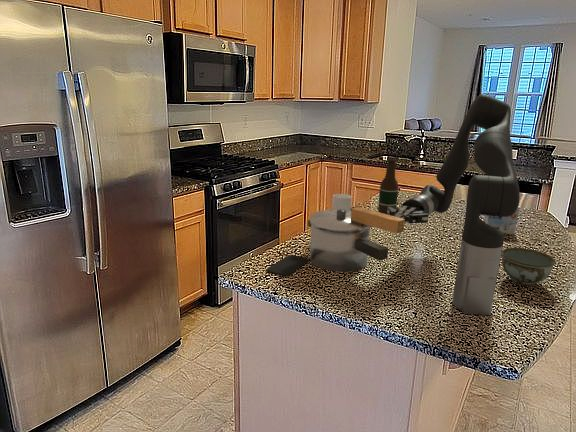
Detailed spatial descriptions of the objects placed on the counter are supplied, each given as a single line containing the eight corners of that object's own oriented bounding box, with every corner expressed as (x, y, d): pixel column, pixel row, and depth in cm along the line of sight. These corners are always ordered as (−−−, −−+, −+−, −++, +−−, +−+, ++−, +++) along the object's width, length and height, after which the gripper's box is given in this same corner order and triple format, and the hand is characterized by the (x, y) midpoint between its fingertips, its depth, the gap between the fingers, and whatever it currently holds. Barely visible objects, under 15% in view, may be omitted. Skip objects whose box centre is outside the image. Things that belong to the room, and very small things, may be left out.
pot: (292, 251, 141) (293, 216, 138) (335, 242, 150) (337, 209, 147) (356, 289, 115) (360, 248, 112) (403, 276, 125) (408, 237, 121)
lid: (297, 221, 132) (298, 202, 130) (337, 211, 145) (338, 193, 143) (378, 249, 111) (380, 227, 109) (417, 234, 123) (420, 214, 122)
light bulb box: (485, 231, 167) (490, 205, 164) (482, 226, 173) (486, 200, 170) (515, 234, 165) (520, 207, 161) (511, 229, 171) (515, 203, 168)
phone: (310, 259, 134) (287, 275, 122) (310, 261, 135) (286, 278, 122) (289, 254, 138) (264, 269, 125) (289, 256, 138) (264, 272, 126)
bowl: (503, 268, 132) (508, 243, 130) (553, 280, 124) (559, 255, 122) (491, 282, 122) (496, 256, 120) (544, 297, 114) (551, 269, 112)
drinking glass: (348, 239, 154) (351, 198, 150) (329, 237, 156) (331, 197, 151) (349, 233, 161) (352, 194, 156) (331, 231, 162) (333, 193, 158)
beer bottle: (376, 214, 186) (381, 159, 179) (378, 210, 193) (383, 157, 186) (395, 216, 183) (400, 161, 177) (396, 212, 191) (401, 158, 184)
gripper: (398, 193, 135) (374, 204, 122) (440, 200, 128) (420, 212, 114) (396, 216, 137) (372, 229, 124) (437, 224, 130) (417, 239, 116)
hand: (395, 221), depth 119 cm, fingers closed
